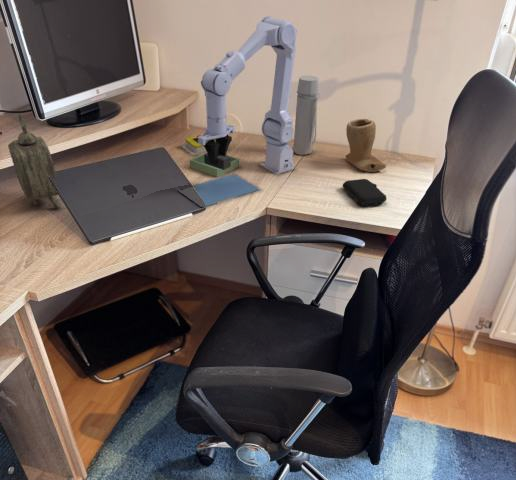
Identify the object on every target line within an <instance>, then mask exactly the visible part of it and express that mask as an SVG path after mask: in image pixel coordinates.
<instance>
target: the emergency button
mask: <svg viewBox="0 0 516 480" xmlns="http://www.w3.org/2000/svg"><path fill="white" fill-rule="evenodd" d="M201 135H202V134H198V135H196V136H190V137H186V138H185V144H184V145H183V144H182V146H181V148H182V149H183V150H185V151H186V152H187V153H188V154H190V155H191V156H196V155H202V154H205V153H207V151H206V149H205V147H204V146H203V145H200V144H198V137H200V136H201ZM215 141H216V140H215Z"/></svg>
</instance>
